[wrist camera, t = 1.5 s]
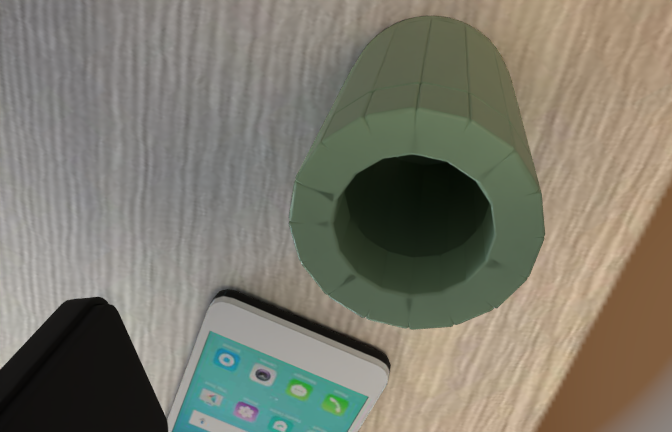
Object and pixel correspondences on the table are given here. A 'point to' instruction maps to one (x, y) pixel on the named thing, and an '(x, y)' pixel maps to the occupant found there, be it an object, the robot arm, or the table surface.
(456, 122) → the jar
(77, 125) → the table surface
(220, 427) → the smartphone
